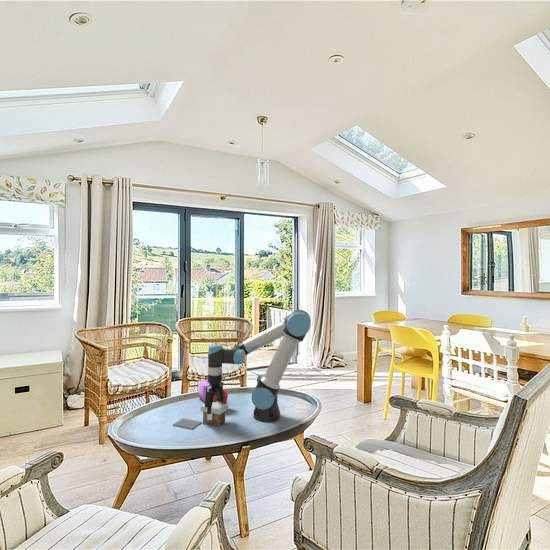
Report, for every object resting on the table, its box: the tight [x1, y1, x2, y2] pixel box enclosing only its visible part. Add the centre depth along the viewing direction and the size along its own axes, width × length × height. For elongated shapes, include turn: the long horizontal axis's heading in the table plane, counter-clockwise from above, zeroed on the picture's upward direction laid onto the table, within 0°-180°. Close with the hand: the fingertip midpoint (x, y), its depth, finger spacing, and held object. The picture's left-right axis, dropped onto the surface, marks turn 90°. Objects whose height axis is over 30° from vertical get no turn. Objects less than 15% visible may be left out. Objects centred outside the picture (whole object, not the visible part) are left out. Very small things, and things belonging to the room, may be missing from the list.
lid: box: [200, 402, 229, 414], centre depth 197 cm, size 12×8×4 cm, turn 68°
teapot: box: [197, 379, 210, 404], centre depth 232 cm, size 20×10×12 cm, turn 28°
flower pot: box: [212, 390, 229, 404], centre depth 217 cm, size 11×11×10 cm
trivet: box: [172, 418, 203, 430], centre depth 195 cm, size 12×9×1 cm
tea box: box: [202, 411, 226, 428], centre depth 197 cm, size 10×6×7 cm, turn 68°
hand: (214, 416), depth 197 cm, fingers closed on lid, 8 cm apart
